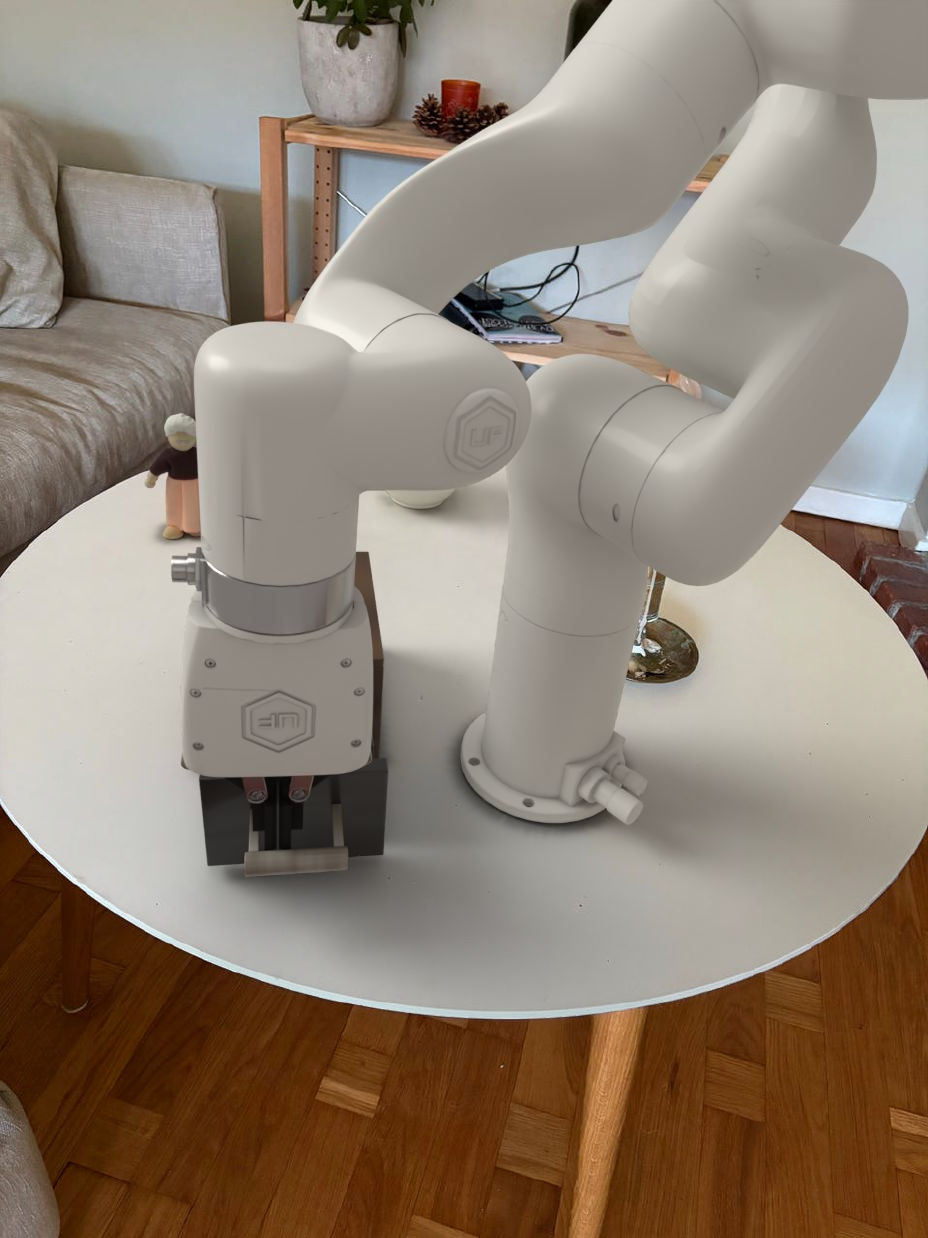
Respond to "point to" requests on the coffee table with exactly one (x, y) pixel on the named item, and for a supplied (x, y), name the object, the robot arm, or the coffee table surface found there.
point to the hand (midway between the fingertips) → (277, 833)
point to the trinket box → (419, 498)
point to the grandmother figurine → (179, 477)
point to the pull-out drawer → (332, 824)
